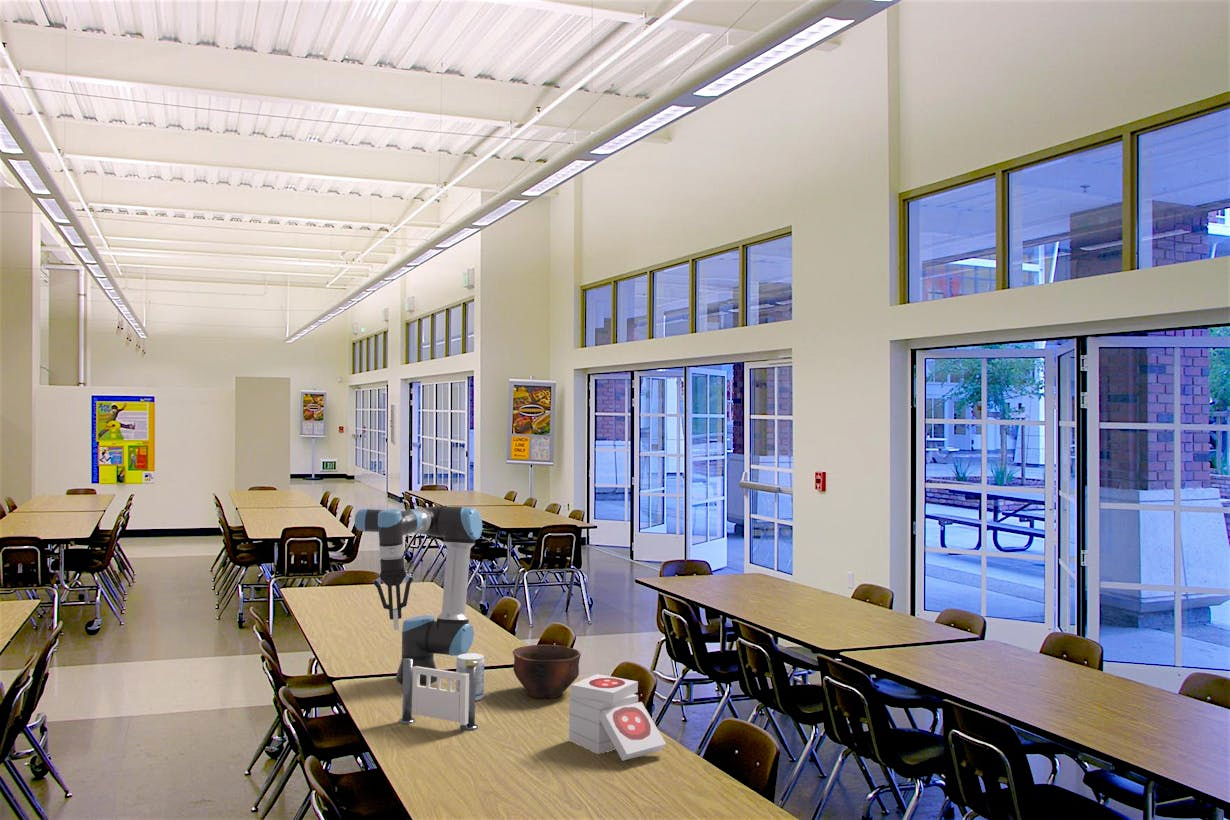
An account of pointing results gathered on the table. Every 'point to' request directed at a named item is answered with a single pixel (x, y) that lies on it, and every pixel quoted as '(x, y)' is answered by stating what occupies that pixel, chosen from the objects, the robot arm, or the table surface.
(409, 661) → the hinge post
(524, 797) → the table surface
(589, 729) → the pizza boxes
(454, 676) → the gate
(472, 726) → the latch post
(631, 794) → the table surface
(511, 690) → the table surface
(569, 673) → the bowl
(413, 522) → the robot arm
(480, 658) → the supplement tub
